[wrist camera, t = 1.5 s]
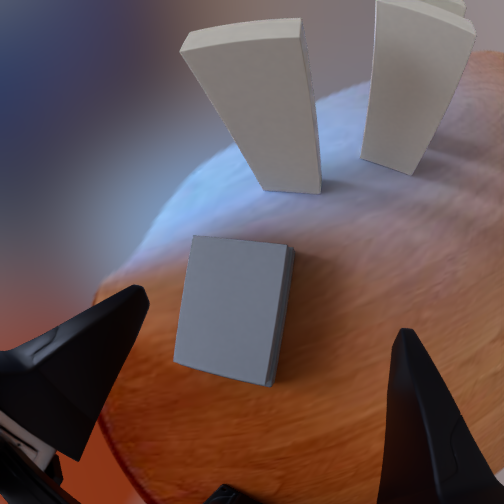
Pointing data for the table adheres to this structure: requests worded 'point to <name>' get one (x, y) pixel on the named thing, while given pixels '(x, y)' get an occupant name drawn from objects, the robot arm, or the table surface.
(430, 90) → the cream books
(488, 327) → the table surface
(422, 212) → the table surface
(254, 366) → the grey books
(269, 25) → the slim cream book
